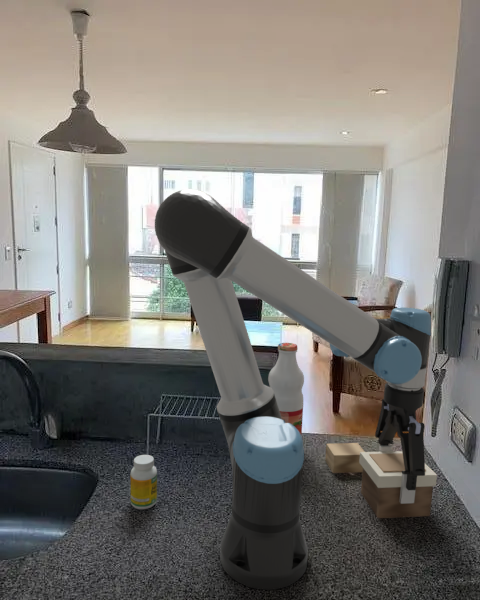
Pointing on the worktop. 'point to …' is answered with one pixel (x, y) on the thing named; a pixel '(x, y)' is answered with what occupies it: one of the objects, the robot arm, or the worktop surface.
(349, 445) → the block
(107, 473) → the worktop surface
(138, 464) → the supplement bottle
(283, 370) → the fruit juice
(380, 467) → the lid
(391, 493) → the box
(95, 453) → the worktop surface
